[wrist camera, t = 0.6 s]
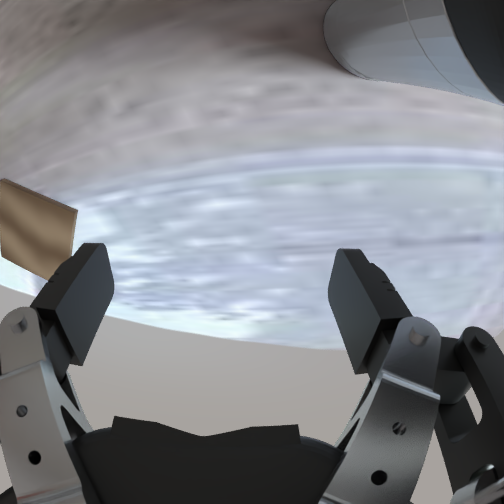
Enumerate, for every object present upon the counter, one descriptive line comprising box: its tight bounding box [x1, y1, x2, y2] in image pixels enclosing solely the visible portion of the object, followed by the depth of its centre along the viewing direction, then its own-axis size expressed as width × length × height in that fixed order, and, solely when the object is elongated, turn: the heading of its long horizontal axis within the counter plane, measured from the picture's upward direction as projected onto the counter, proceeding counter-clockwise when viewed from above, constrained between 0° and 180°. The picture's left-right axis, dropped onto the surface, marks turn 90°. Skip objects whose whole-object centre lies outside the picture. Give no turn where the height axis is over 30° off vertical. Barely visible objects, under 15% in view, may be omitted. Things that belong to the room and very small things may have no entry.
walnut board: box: [0, 179, 78, 280], centre depth 29 cm, size 12×12×1 cm
